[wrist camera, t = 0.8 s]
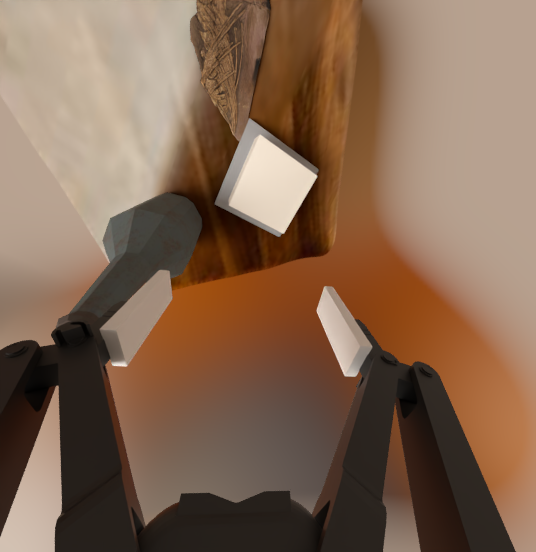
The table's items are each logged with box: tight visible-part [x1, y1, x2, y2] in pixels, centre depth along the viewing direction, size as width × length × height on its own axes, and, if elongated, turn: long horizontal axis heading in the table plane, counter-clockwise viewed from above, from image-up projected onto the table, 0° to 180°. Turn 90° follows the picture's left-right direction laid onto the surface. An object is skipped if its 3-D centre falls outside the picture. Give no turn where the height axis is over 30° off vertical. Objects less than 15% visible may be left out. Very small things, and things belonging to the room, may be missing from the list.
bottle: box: [56, 192, 202, 328], centre depth 25 cm, size 10×10×30 cm
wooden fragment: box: [190, 0, 271, 141], centre depth 27 cm, size 26×11×1 cm, turn 176°
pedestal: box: [215, 118, 319, 237], centre depth 35 cm, size 15×15×8 cm
